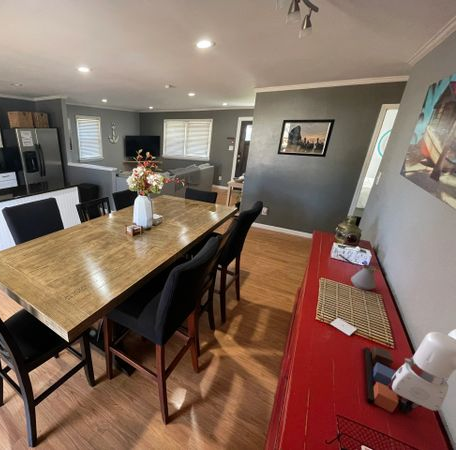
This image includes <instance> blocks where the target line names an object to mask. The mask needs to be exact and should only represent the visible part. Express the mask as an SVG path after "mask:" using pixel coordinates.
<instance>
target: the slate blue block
mask: <svg viewBox="0 0 456 450" xmlns="http://www.w3.org/2000/svg"><path fill="white" fill-rule="evenodd" d="M395 373H396V370H394V369H392V368H391V367H390V368H388V367H386V366H384V365H382V364H380V363H378V362H377V363H376V365H375V364H374V366H373V368H372V376H373V383H375V384H376V382H379V383H381V384H383V385H385V386H388V384H389V383H391V382H392V381H391V379H392V377H393V375H394V374H395Z"/></svg>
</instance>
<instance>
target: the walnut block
mask: <svg viewBox="0 0 456 450" xmlns="http://www.w3.org/2000/svg"><path fill="white" fill-rule="evenodd" d="M370 353H371V364H372V365H374V366H375V365H376V363H377V362H378V363H380V364H382V365H384V366H386V367H388V368H390V369H391V366H392V364H393V363H394V359H393V355H392V352H391V351H390V350H388V349H385V348H382V347H380V346H377V345H373V347H372V348H371V350H370Z"/></svg>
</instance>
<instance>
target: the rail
mask: <svg viewBox="0 0 456 450" xmlns="http://www.w3.org/2000/svg"><path fill="white" fill-rule="evenodd" d="M363 360H364V375H365V393H366V395H365V396H366V403H367V404H369V405H372V406H373V405H374V402H375V398H374V382H373V376H372V370H373V366H372V365H373V364H372V363H371V348H370V347H367V346H365V347H364V349H363Z"/></svg>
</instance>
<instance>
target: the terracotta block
mask: <svg viewBox="0 0 456 450" xmlns="http://www.w3.org/2000/svg"><path fill="white" fill-rule="evenodd" d="M373 387H374V398H375V402H374V403H373V405H376V406H378V407H379V408H382V409H384V410H385V411H388V412H389V413H394V411H395V409H396V408H397V407H398V406H397V405H398V400H399V396H398V395H397V394H396V393H395V392H393V391H392V390H390V389H389V388H388V386H385V385H383V384H381V383H379V382H376V383H375V384H374V385H373Z"/></svg>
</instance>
